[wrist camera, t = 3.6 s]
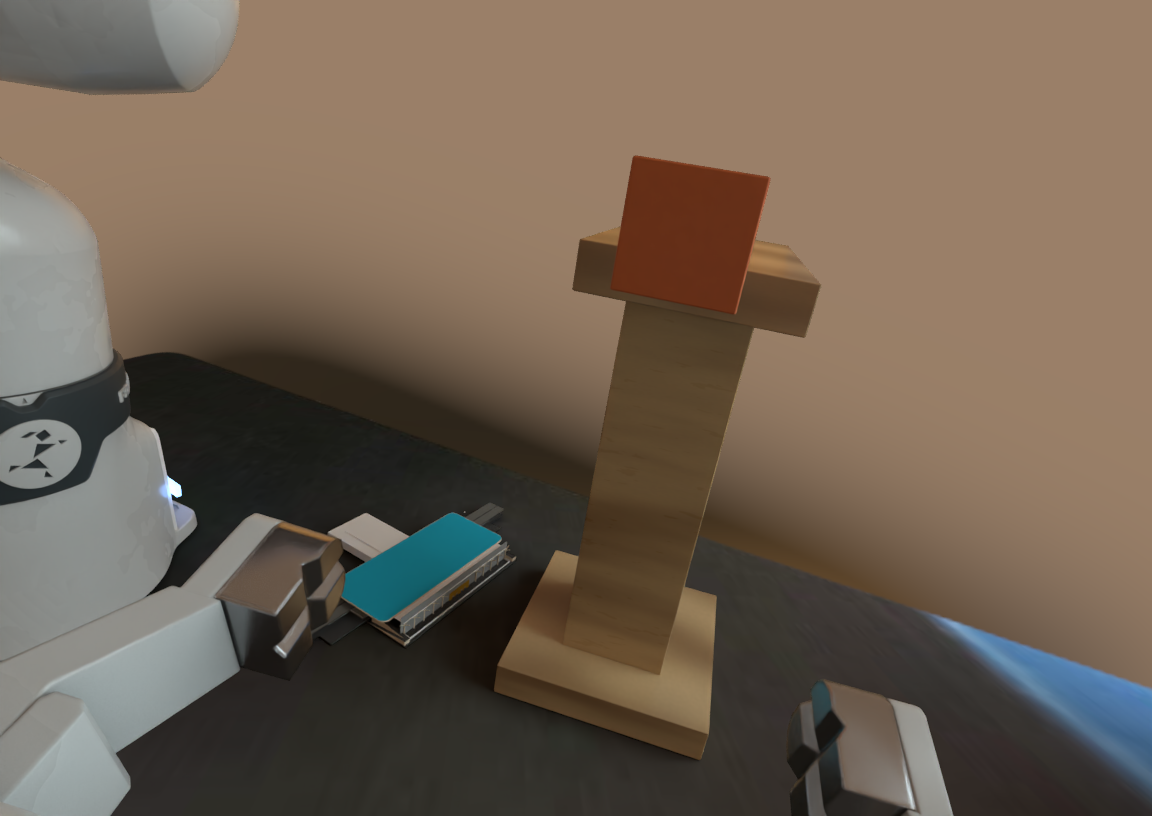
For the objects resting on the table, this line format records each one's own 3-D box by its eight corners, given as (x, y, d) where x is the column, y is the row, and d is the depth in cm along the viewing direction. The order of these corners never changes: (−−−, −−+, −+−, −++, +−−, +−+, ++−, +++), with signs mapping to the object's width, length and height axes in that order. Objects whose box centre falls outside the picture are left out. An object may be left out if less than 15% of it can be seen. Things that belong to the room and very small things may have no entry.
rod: (736, 315, 14) (771, 176, 13) (609, 289, 14) (632, 154, 13) (738, 240, 34) (752, 184, 33) (685, 231, 34) (697, 175, 33)
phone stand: (437, 484, 55) (438, 468, 54) (546, 537, 50) (549, 519, 49) (218, 596, 38) (217, 574, 38) (349, 692, 33) (349, 669, 33)
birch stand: (698, 794, 31) (865, 292, 21) (479, 719, 33) (542, 231, 23) (711, 600, 46) (814, 250, 36) (559, 557, 48) (618, 215, 38)
